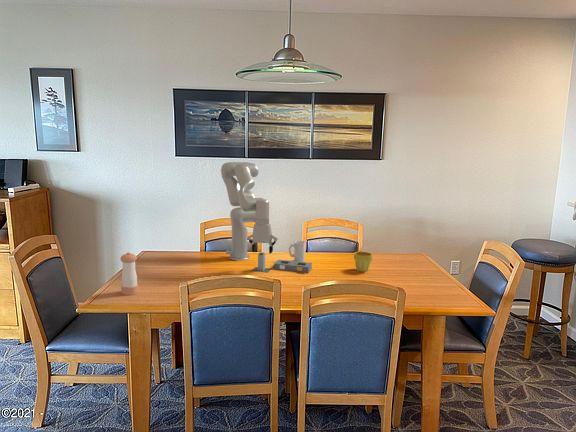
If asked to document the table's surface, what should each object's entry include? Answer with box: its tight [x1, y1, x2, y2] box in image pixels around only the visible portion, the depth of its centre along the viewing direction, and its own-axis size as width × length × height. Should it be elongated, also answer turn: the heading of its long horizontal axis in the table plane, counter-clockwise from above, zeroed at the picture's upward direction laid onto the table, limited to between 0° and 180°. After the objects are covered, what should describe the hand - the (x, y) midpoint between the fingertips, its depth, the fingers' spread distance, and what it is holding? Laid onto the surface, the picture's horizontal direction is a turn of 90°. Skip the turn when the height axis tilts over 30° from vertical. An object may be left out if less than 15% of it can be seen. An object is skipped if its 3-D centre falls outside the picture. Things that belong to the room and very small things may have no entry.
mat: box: [250, 266, 272, 273], centre depth 234 cm, size 10×8×1 cm
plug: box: [257, 251, 266, 271], centre depth 233 cm, size 3×3×10 cm
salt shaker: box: [120, 252, 139, 296], centre depth 193 cm, size 7×7×19 cm
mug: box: [288, 240, 306, 262], centre depth 253 cm, size 10×7×12 cm, turn 89°
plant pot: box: [353, 250, 373, 273], centre depth 239 cm, size 10×10×10 cm
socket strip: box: [273, 259, 313, 274], centre depth 237 cm, size 20×9×4 cm, turn 74°
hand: (262, 252), depth 232 cm, fingers open, 9 cm apart
